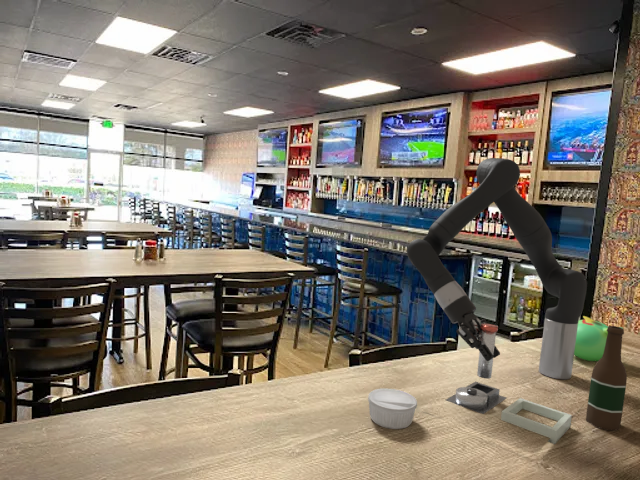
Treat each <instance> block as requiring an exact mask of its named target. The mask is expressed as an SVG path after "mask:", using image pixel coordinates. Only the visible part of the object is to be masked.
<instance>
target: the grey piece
mask: <svg viewBox="0 0 640 480" xmlns="http://www.w3.org/2000/svg"><path fill="white" fill-rule="evenodd" d="M500 391H501V390H500V388H496V387H494V386H491V385H488V384H484V383H481V382H478V381H474V382H472V383H471V384H469V385H467V386H465V387H464V386H462V387H458V388H456V390H455V394H453V395H451V396H450V397H448V398H446V399H445V401H446V402H449V403H452V404H454V405H458V406H460V407H462V408H465V409H468V410H469V411H470V410H471V411H473V412H476V413H478V414H481V415H484V414H486V413H487V412H489V411H490V410H492V409H493V408H495V407H496V406H498V405H499V404H500V403H502V402H504V400H506V399H507V397H506V396H504V395H500Z"/></svg>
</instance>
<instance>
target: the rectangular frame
mask: <svg viewBox="0 0 640 480" xmlns="http://www.w3.org/2000/svg"><path fill="white" fill-rule="evenodd" d="M521 410H524V411H527V412H531V413H534V414H536V415H538V416H542V417H545V418H547V419H551V420H554V421H557V422H556V423H555V424H554V425H553V426H550V425H547V424H544V423H541V422H539V421H537V420H533V419H531V418H528V417H525V416H521V415H520V414H517V413H519V412H520V411H521ZM500 414H501V415H500V420H501V421H503V422H505V423H508V424H512V425H514V426H517V427H519V428H521V429H525V430H527V431H530V432H532V433H536V434H538V435H541V436H544V437H547V438H549V439H548V440H547V442H548V443H550V444H553V445H555V444H557V442H558V441H560V439H561V438H562V437H563V436H564V435H565V433H566V432H568V431H569V429H570V428H571V423H572V418H573V417H572V414H570V413H567V412H564V411H560V410H558V409H555V408H551V407H548V406H545V405H543V404H541V403H536V402H534V401H531V400H528V399H524V398H521V397H520V398H518V399H516V401H514V402H512V403H511V404H510V405H509V406H507V407H505V408H504V409H503V410H502V411H501V413H500Z"/></svg>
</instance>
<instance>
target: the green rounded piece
mask: <svg viewBox="0 0 640 480" xmlns="http://www.w3.org/2000/svg"><path fill="white" fill-rule="evenodd" d="M582 318H583V319H579V320H578V328H577V336H576V344H575V351H574V357H575V356H576V358H578V359H580V360H584V361H587V362H598V361H599V360H600V359H601V358H602V356H603V353H604V349H605V344H606V339H607V334H608V332H607V328H608V325H606V324H605V323H603V322H601V321H600V320H594V319H592V318H591V317H588V316H585V315H583V316H582ZM619 327H620V328H623V329H624V327H623V326H619Z"/></svg>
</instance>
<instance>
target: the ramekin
mask: <svg viewBox="0 0 640 480" xmlns="http://www.w3.org/2000/svg"><path fill="white" fill-rule="evenodd" d="M367 400H368V406H369V407H368V408H369V409H368V410H369V416H370V418H371V420H372V421H373V422H374V424H376V425H378V426H380V427H382V428H386V429H391V430H402V429H405V428H407V427H409V426H410V425H411V424H412V422H413V419H414V416H415V412H416V409H417V407H418V400H417V399H416V397H415V396H413V395H412V394H410V393H408V392H406V391H404V390H400V389H395V388H387V387H385V388H375V389H373V390H372V391H370V392H369V393H368V396H367Z"/></svg>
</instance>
